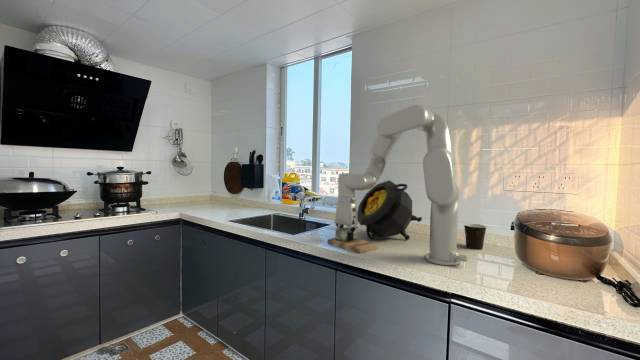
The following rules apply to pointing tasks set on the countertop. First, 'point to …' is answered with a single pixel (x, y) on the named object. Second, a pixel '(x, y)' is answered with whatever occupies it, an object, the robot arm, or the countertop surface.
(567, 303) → the countertop surface
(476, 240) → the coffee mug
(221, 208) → the countertop surface
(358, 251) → the oak board
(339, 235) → the sanding block
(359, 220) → the black cauldron
